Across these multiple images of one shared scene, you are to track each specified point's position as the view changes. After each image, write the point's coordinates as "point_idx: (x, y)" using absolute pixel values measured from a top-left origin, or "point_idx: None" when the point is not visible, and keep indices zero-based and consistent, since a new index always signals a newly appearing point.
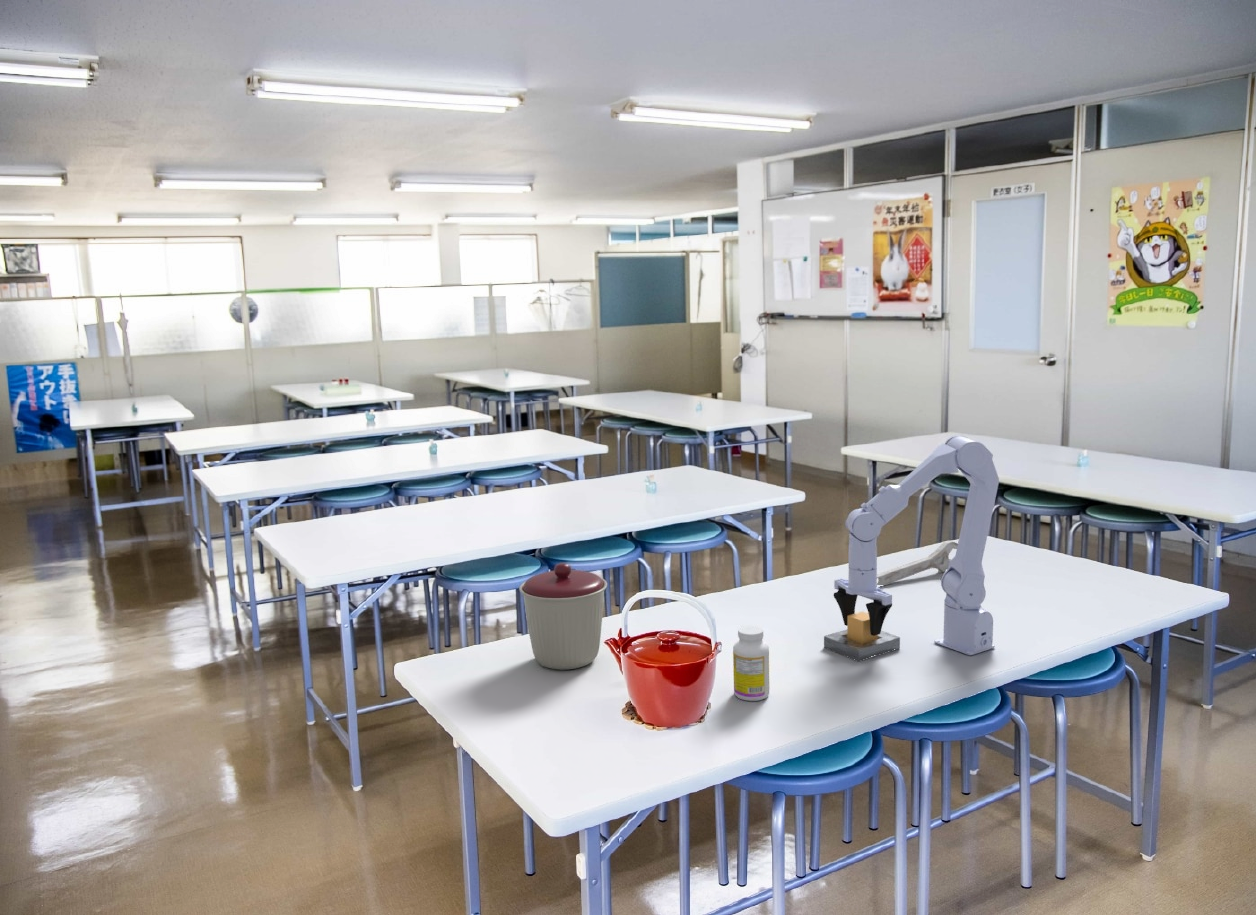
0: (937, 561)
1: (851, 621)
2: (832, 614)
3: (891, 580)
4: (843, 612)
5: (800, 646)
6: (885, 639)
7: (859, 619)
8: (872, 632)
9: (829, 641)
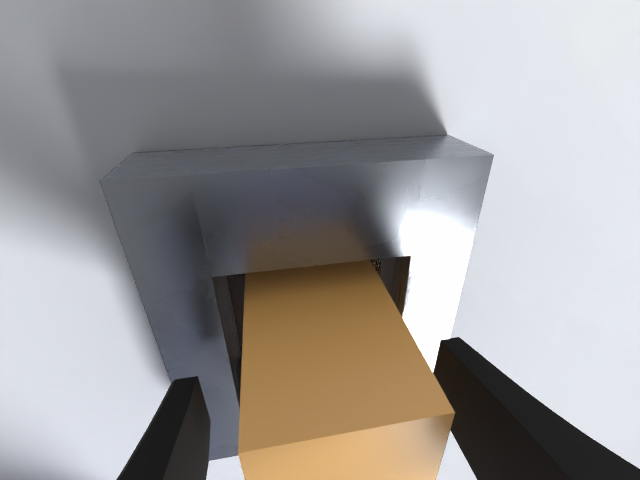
0: None
1: (386, 381)
2: (613, 385)
3: None
4: (526, 419)
5: (573, 6)
6: (208, 407)
7: (301, 447)
8: (168, 398)
9: (425, 150)
